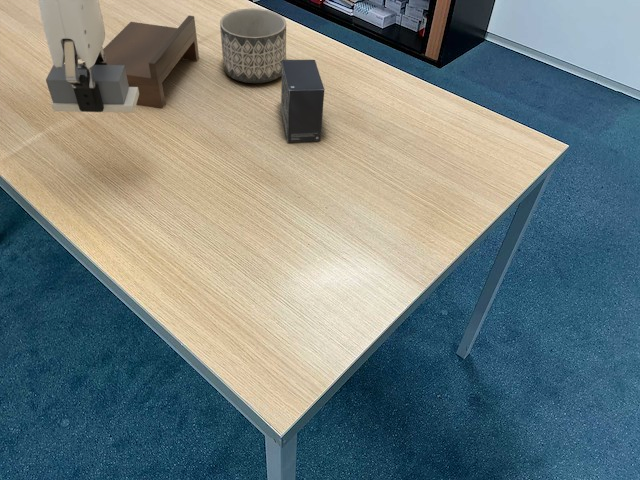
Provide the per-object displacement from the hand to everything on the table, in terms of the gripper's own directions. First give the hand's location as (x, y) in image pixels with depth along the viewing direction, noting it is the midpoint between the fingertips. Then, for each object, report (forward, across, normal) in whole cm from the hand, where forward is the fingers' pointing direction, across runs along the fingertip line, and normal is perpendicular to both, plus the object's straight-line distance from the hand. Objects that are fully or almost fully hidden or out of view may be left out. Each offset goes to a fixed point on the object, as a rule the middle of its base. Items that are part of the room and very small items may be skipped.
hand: (96, 98), depth 78 cm
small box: (+13, -13, +31) cm, 36 cm away
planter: (+14, -32, +22) cm, 41 cm away
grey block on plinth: (+1, 0, 0) cm, 1 cm away
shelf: (+14, -30, +1) cm, 33 cm away
